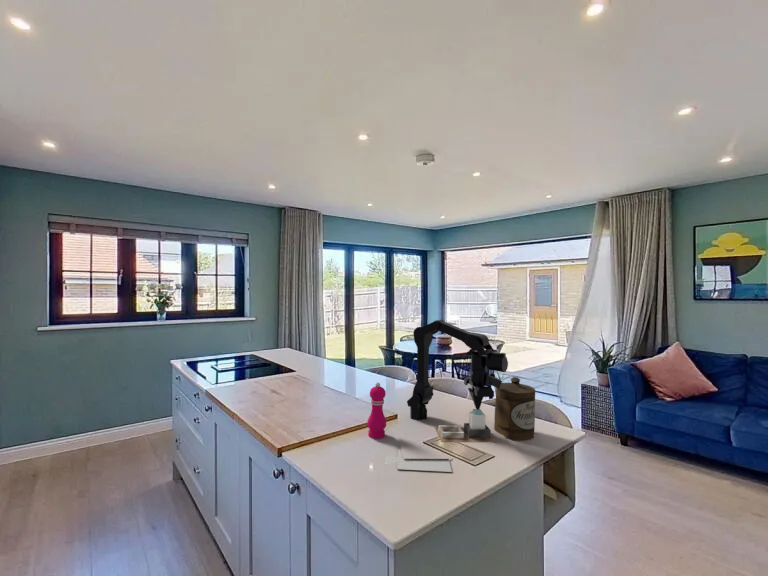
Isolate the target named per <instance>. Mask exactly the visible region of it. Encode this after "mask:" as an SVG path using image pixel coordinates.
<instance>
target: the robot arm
mask: <svg viewBox="0 0 768 576" xmlns="http://www.w3.org/2000/svg"><path fill="white" fill-rule="evenodd" d="M439 332H440V333H443V334H445V335H448V336H450V337H452V338H454V339H456V340H459V341H461V342H462V343H463V344H465V346H466V347H467V348H469V350H468V351H466V353H465V355H466V356H471V358H470V368H469V373H470V376H466V377H465V378H464V379H463V384H464V385H465V386H468V385H469V387H468V388H467V390H468V392H469V395H470V397H471V399H472V401H473V405H474V407H475V409H481V405H482V403H483V400H484V398H494V397H495V391H494V390H493V389H492V388H491V387H495V389H496V388H498V389H499V388H500V385H501V383H503V382H502V379H500V378H498V377H496V374H495V373H494V372H489V371H495V372H502V373H506V372H507V370H508V367H509V361H508V358H507V357H508V356H507V355H506V352H496V351H495V349H494V347H493V346H492V345H491V343H490V340H489V337H488V336H487V335H485V334H483V333H479V332H471V331H467V330H465V329H463V328H460V327H458V326H456V325H453V324H451V323H449V322H446V321H444V320H442V319H437V320H434V321H432V322H431V323H427V324H426V325H423V326H417V327H415V329H414V330H413V340H414V341H413V342H414V343H415V345H416V347H417V348H416V349H417V351H416V352H417V353H416V355H417V357H416V383H415V385H414V387H413V390H412V396H411V397H410V398H409V399H407V400H406V404H407V406H408V407H409V410H410V411H409V417H410V419H411V420H417V421H422V420H427V419H428V409H427V405H428V404H429V403H430V401H431V399H432V398H433V396H434V385H431V384H430V382H429V367H430V366H429V365H430V364H429V362H430V355H429V353H430V347H431V344H432V342H433V338H434V335H435V334H437V333H439ZM487 369H488V370H489V371H487ZM490 386H491V387H490Z"/></svg>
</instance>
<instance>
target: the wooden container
mask: <svg viewBox="0 0 768 576" xmlns="http://www.w3.org/2000/svg"><path fill="white" fill-rule="evenodd" d="M510 381H511V382H501V385H500V388H499V389H498V388H496V387H495V403H494V420H493V421H494V424H493V427H494V428H493V429H494V431H495V432H496V433H498V434H500V435H502V436H503V437H504V438H505V439H506V440H511V441H516V440H517V442H519V441H520V442H525V441H526V442H527V441H530V440H532V439H534V437H535V424H536V423H535V422H536V389H535V388H534V387H532V386H530V385H528V384H523V383H520V382H521V379H520V378H518V377H516V376H514V377H511V378H510Z"/></svg>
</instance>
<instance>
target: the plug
mask: <svg viewBox="0 0 768 576" xmlns="http://www.w3.org/2000/svg"><path fill="white" fill-rule="evenodd" d="M468 414H469V415H468V423H469V428H470V429H485V424H486V414H485V413H484V412H483V410H482V409H481V408H480V409H476V408H475V409H474V408H473V409H472V411H469V413H468Z"/></svg>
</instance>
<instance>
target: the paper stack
mask: <svg viewBox="0 0 768 576" xmlns="http://www.w3.org/2000/svg"><path fill="white" fill-rule="evenodd" d="M393 463H396V464H397V465H396V469H397V470H406V471H407V470H408V471H422V472H423V471H425V472H446V473H453V471H452V466H451V463H450V458H404V455H403V451H402V449H400V448H398V449H397V456H391V455H385V457H384V465H389V464H393Z"/></svg>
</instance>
